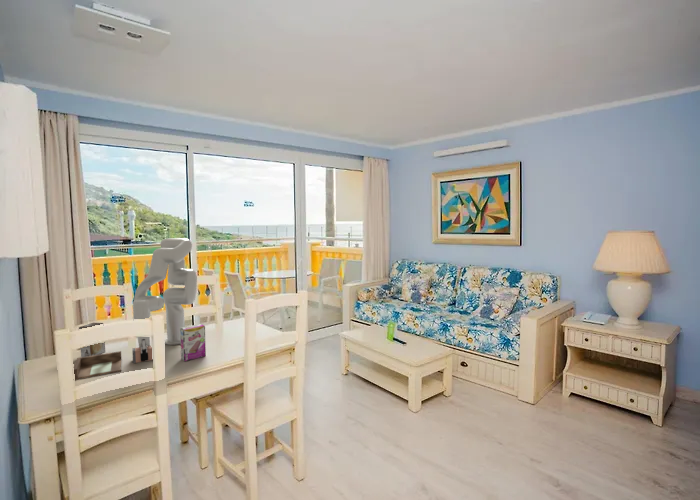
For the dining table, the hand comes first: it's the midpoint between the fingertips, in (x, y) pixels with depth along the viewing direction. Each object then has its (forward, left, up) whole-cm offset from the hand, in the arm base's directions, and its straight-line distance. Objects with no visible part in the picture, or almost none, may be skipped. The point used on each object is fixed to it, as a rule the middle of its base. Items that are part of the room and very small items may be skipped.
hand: (144, 358), depth 189 cm
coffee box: (+23, -22, -1) cm, 32 cm away
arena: (+19, +3, -1) cm, 19 cm away
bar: (0, 0, -1) cm, 1 cm away
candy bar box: (-22, +10, -1) cm, 24 cm away
